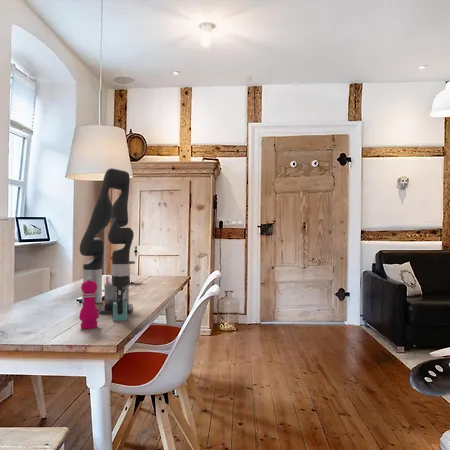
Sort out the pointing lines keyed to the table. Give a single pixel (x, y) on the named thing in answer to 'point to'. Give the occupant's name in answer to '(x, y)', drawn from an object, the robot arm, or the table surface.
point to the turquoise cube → (122, 316)
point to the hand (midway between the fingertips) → (120, 312)
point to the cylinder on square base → (113, 298)
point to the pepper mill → (89, 305)
